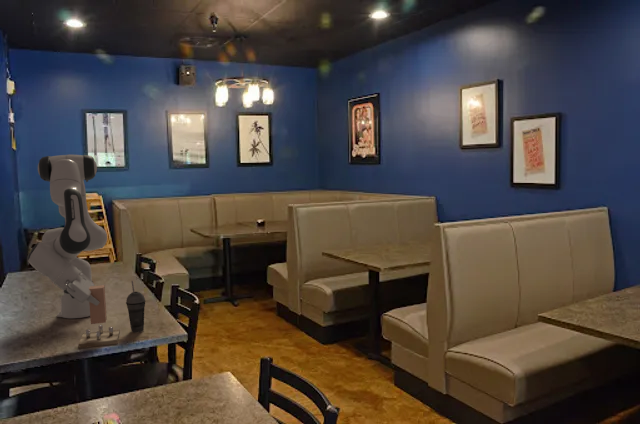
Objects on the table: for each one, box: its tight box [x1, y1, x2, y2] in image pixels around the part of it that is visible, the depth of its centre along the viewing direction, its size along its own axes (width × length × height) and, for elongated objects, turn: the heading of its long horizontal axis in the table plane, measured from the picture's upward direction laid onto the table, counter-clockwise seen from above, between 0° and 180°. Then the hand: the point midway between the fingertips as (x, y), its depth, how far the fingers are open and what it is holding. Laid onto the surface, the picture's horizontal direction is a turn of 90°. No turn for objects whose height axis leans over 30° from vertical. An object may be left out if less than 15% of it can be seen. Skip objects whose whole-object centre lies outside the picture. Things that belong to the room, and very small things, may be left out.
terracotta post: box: [89, 284, 108, 325], centre depth 195 cm, size 5×5×13 cm
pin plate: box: [78, 324, 121, 349], centre depth 196 cm, size 13×13×4 cm
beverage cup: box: [125, 280, 146, 334], centre depth 206 cm, size 7×7×20 cm
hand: (99, 301), depth 195 cm, fingers closed on terracotta post, 5 cm apart
